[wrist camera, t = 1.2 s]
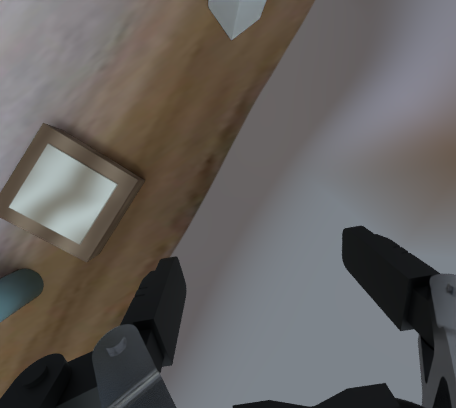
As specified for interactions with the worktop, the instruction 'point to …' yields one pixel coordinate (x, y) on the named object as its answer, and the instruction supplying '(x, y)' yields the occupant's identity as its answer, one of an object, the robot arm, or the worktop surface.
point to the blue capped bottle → (18, 290)
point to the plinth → (68, 193)
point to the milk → (236, 14)
